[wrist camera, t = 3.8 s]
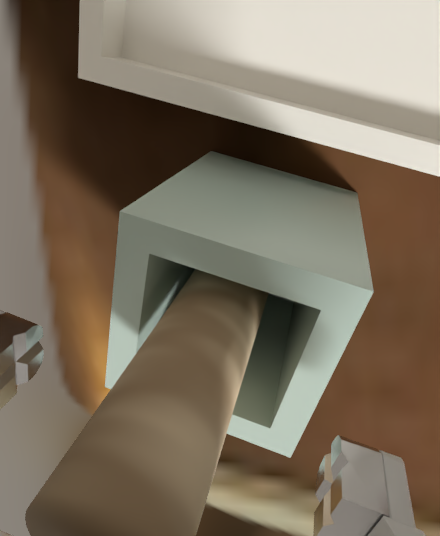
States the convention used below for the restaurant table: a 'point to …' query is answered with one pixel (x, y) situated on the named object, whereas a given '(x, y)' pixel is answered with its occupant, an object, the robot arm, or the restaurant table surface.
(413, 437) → the restaurant table surface
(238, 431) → the celadon cup
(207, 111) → the melamine tray
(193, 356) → the beech dowel
